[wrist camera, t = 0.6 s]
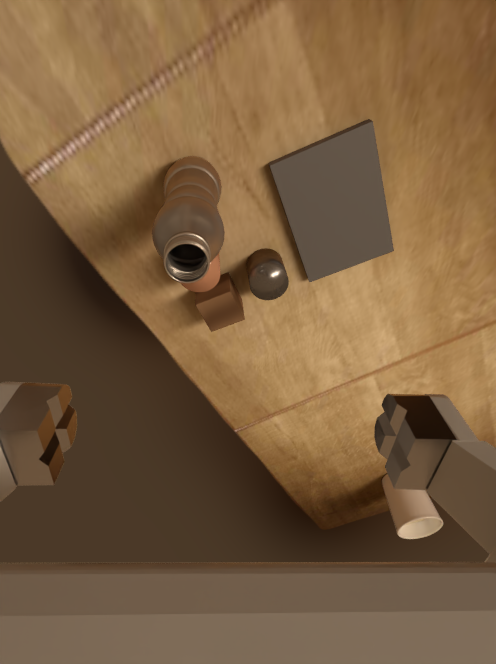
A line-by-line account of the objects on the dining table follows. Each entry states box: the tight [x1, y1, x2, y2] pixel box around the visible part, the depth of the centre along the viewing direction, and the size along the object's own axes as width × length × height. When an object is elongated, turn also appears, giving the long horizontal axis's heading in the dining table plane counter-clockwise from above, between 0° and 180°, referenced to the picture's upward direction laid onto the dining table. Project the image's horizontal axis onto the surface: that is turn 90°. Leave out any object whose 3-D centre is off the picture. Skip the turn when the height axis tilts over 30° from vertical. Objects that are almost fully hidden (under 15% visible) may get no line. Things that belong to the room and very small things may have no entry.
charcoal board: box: [269, 119, 394, 282], centre depth 49 cm, size 17×12×1 cm
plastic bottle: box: [152, 156, 224, 283], centre depth 38 cm, size 6×7×20 cm
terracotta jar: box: [181, 253, 220, 292], centre depth 49 cm, size 5×5×7 cm
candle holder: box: [382, 474, 443, 539], centre depth 88 cm, size 10×10×12 cm
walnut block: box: [195, 272, 245, 332], centre depth 54 cm, size 5×5×5 cm
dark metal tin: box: [247, 249, 289, 300], centre depth 52 cm, size 5×5×5 cm
